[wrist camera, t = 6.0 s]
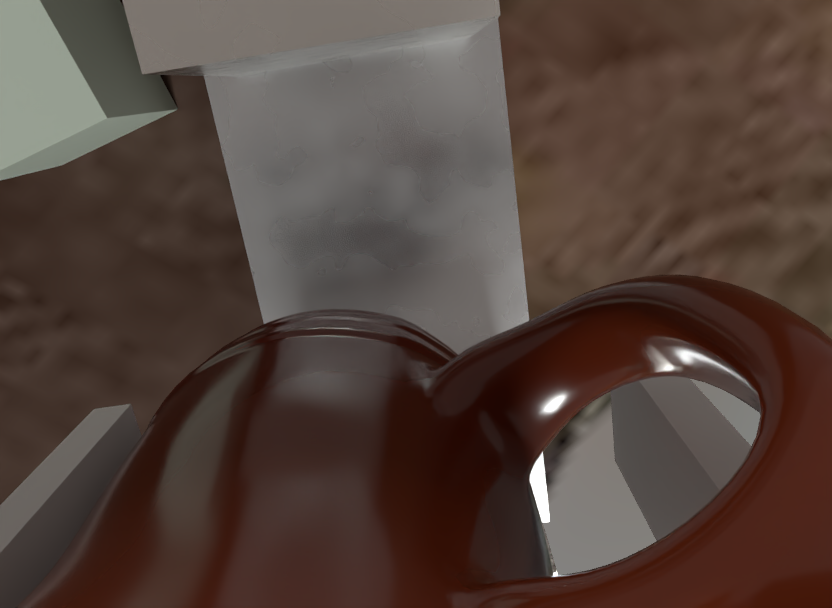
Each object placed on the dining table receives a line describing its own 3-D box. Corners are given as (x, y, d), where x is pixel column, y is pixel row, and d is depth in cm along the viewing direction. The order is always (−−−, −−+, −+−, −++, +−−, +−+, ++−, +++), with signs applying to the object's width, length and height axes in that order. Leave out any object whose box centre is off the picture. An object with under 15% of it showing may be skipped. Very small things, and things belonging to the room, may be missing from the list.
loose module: (62, 164, 25) (-42, 190, 19) (-52, -25, 23) (-208, -59, 17) (178, 109, 24) (106, 118, 18) (71, -91, 22) (-47, -150, 16)
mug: (355, 656, 17) (287, 1442, 7) (69, 449, 15) (-580, 1158, 5) (733, 343, 14) (1447, 916, 4) (448, 37, 12) (612, -133, 2)
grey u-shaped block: (325, 535, 30) (288, 731, 21) (181, -70, 22) (24, -173, 13) (543, 506, 30) (601, 693, 21) (477, -121, 22) (524, -264, 13)
